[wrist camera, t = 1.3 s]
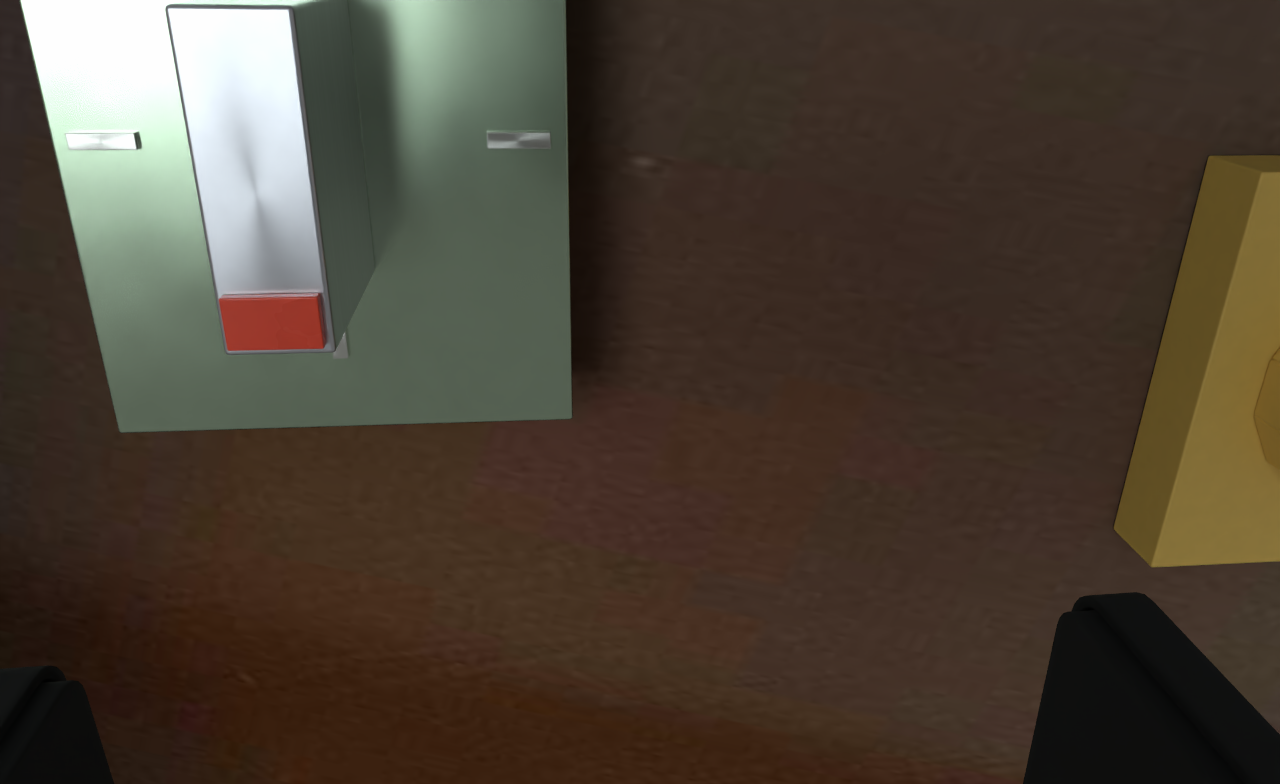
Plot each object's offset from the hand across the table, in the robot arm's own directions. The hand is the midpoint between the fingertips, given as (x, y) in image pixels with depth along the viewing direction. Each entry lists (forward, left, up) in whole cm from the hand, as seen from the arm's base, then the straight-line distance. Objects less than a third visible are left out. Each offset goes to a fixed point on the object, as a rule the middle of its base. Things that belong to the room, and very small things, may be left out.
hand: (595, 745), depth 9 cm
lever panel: (-3, -5, -18) cm, 19 cm away
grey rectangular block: (-3, -5, -15) cm, 16 cm away
